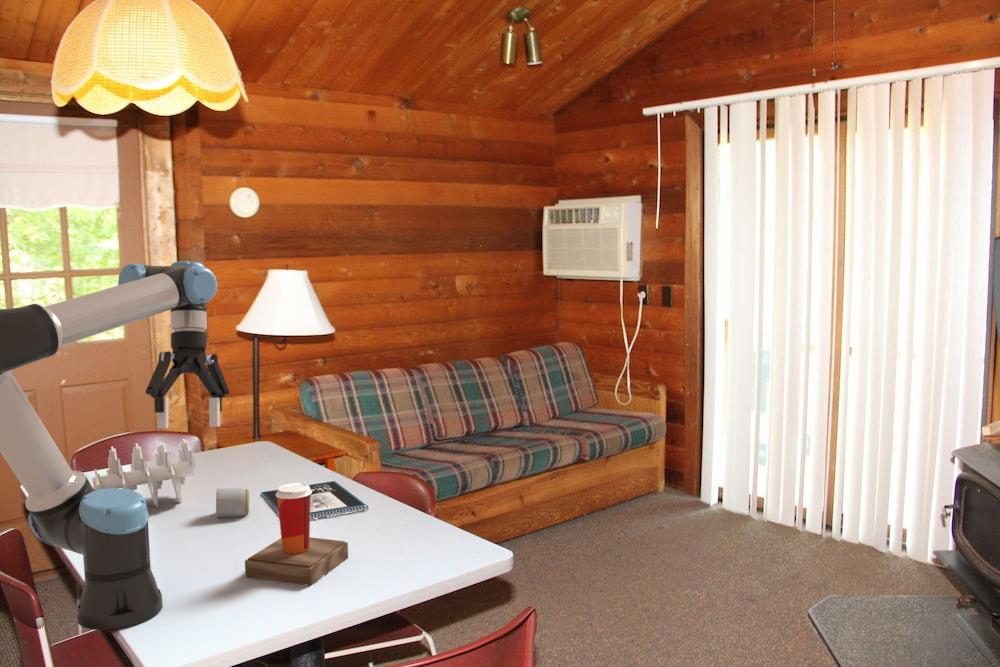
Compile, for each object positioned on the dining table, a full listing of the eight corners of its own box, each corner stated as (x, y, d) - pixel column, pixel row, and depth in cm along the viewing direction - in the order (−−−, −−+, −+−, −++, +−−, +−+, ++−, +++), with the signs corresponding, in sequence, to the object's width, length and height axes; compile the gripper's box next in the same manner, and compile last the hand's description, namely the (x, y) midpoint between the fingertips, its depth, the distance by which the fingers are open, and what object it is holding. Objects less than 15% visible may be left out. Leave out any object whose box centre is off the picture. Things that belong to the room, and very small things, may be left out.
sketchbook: (334, 485, 250) (334, 478, 250) (369, 513, 224) (369, 505, 224) (261, 496, 240) (260, 489, 240) (288, 527, 214) (288, 519, 214)
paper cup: (299, 540, 191) (297, 480, 190) (321, 548, 186) (318, 486, 185) (270, 550, 185) (267, 488, 184) (291, 559, 180) (289, 495, 179)
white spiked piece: (97, 523, 229) (194, 504, 240) (97, 513, 214) (200, 493, 225) (89, 458, 234) (184, 442, 245) (88, 443, 219) (189, 427, 230)
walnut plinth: (311, 585, 176) (310, 567, 176) (245, 576, 181) (244, 558, 181) (348, 557, 191) (347, 540, 191) (286, 550, 196) (285, 533, 196)
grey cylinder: (249, 519, 219) (248, 489, 218) (216, 522, 217) (214, 492, 216) (250, 507, 229) (249, 479, 228) (218, 510, 227) (217, 482, 226)
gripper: (222, 336, 201) (223, 426, 199) (128, 329, 180) (128, 429, 178) (244, 333, 197) (245, 425, 195) (150, 325, 176) (151, 428, 174)
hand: (189, 427), depth 186 cm, fingers open, 13 cm apart
